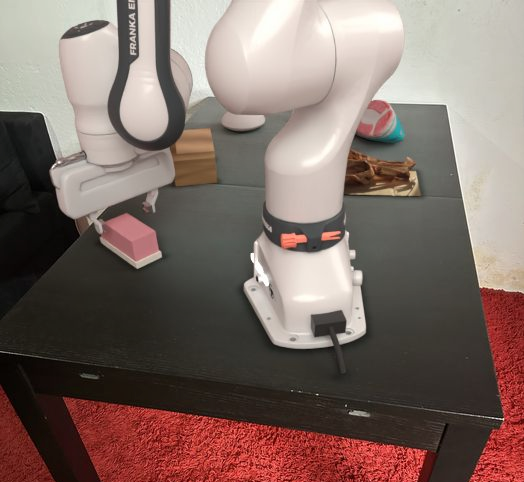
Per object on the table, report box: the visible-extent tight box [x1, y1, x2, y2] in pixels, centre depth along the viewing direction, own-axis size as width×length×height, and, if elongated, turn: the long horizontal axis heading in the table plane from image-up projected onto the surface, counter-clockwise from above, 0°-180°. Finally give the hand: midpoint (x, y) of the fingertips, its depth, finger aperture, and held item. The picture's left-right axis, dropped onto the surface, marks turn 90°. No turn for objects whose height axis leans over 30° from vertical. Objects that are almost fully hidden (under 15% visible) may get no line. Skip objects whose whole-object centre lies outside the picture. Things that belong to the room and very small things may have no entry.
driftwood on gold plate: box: [343, 148, 422, 197], centre depth 110 cm, size 14×7×28 cm
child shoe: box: [99, 212, 163, 270], centre depth 93 cm, size 12×5×5 cm, turn 43°
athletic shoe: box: [354, 99, 406, 144], centre depth 130 cm, size 27×9×12 cm
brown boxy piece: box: [169, 127, 218, 187], centre depth 114 cm, size 13×9×9 cm
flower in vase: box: [220, 110, 266, 132], centre depth 129 cm, size 13×11×25 cm
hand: (126, 221), depth 91 cm, fingers open, 8 cm apart
